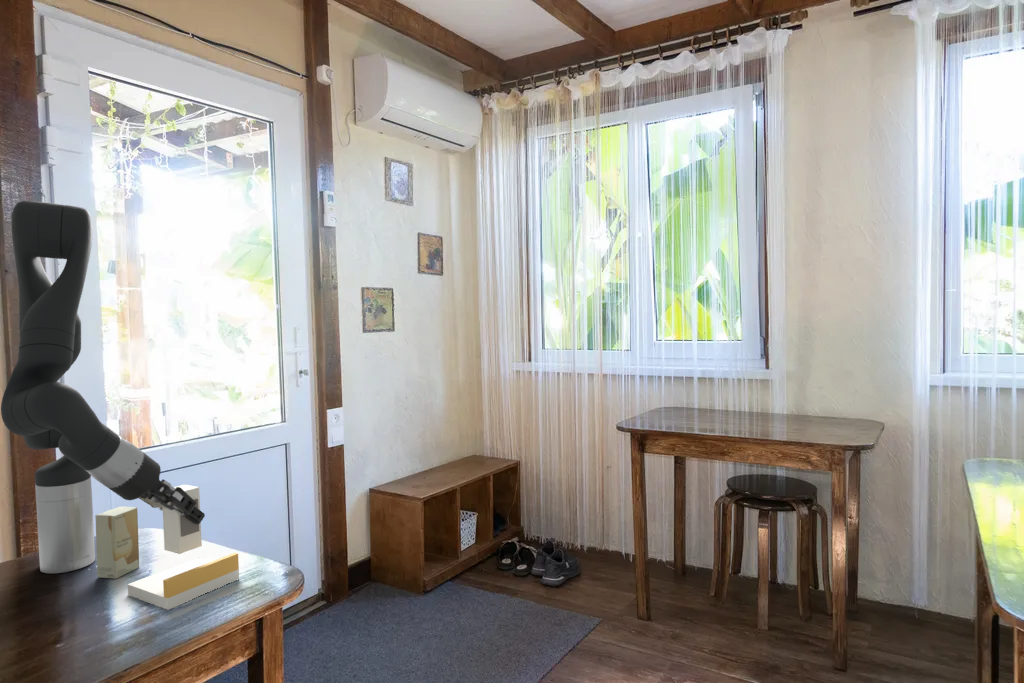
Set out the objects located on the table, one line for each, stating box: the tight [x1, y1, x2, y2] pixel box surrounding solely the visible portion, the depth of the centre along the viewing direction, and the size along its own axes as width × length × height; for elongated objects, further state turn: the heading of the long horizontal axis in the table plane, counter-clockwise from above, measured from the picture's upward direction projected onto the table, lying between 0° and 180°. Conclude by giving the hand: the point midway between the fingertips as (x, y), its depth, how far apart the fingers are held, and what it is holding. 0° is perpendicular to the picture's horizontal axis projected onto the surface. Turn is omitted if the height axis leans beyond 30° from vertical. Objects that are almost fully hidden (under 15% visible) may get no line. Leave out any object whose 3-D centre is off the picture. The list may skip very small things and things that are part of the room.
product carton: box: [162, 484, 202, 555], centre depth 119 cm, size 5×4×11 cm
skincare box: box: [95, 505, 140, 579], centre depth 127 cm, size 6×4×12 cm
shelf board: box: [127, 552, 240, 611], centre depth 120 cm, size 12×14×5 cm
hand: (191, 517), depth 121 cm, fingers closed on product carton, 4 cm apart
